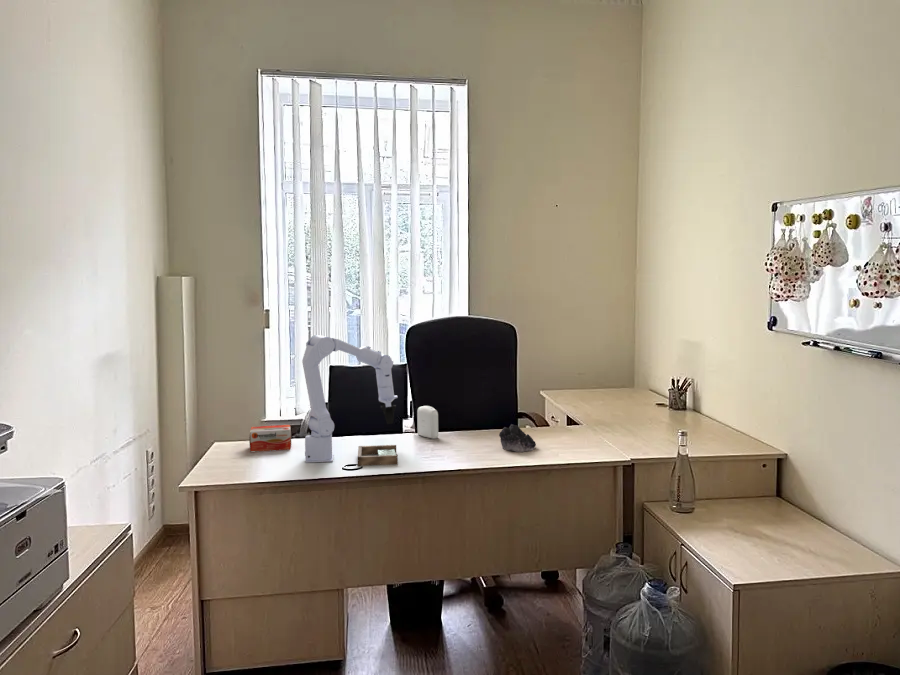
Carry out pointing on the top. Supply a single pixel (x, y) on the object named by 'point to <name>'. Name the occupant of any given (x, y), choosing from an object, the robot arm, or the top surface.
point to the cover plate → (386, 452)
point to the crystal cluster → (516, 439)
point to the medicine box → (270, 438)
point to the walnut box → (376, 459)
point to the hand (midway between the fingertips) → (389, 421)
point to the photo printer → (427, 422)
